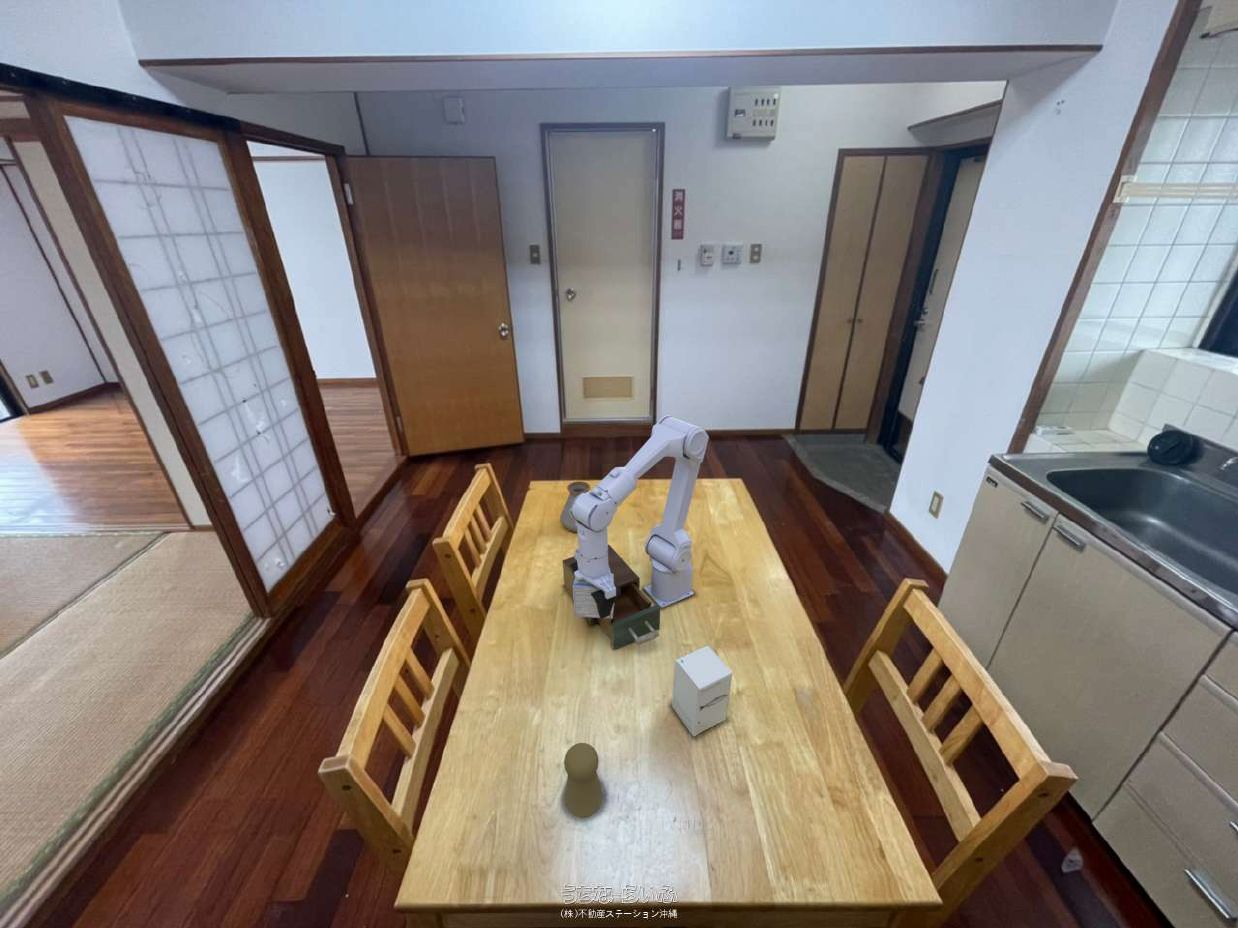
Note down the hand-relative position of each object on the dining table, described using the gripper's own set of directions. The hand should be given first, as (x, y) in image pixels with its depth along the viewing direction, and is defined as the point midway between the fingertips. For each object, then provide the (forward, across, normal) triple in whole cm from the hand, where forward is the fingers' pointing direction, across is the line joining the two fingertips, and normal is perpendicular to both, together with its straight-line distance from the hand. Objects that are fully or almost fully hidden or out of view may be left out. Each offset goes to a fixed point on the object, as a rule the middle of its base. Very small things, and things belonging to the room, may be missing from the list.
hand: (595, 603), depth 107 cm
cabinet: (+10, -12, +7) cm, 17 cm away
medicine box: (+2, 0, 0) cm, 2 cm away
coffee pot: (+11, -39, +20) cm, 45 cm away
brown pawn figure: (+10, +28, -17) cm, 35 cm away
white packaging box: (+10, +25, +8) cm, 28 cm away
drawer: (+9, +1, +7) cm, 12 cm away
